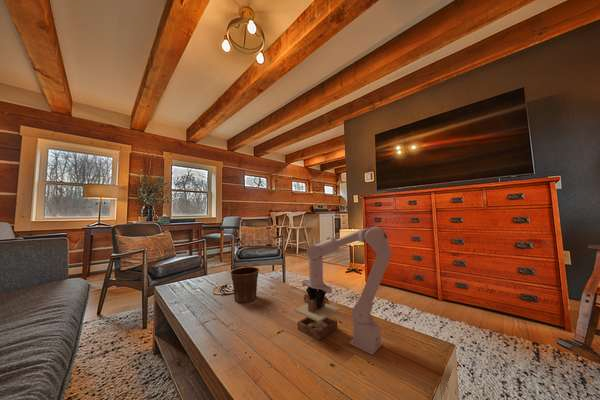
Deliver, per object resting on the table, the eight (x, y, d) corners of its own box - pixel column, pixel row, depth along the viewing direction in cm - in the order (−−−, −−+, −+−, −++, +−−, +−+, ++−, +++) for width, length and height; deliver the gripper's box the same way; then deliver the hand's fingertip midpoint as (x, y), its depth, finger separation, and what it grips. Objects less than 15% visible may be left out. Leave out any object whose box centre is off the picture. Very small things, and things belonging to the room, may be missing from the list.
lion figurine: (305, 314, 103) (305, 295, 103) (302, 309, 108) (301, 291, 108) (333, 309, 108) (332, 291, 108) (328, 305, 113) (327, 287, 113)
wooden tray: (337, 328, 90) (337, 321, 90) (319, 341, 82) (319, 333, 82) (315, 318, 99) (315, 312, 99) (297, 329, 90) (297, 322, 90)
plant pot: (224, 303, 117) (224, 273, 118) (240, 292, 133) (240, 266, 134) (250, 306, 113) (250, 275, 114) (264, 294, 128) (263, 267, 129)
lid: (339, 310, 88) (338, 298, 88) (318, 322, 79) (318, 309, 79) (315, 301, 97) (315, 290, 98) (294, 311, 88) (294, 299, 88)
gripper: (335, 274, 87) (336, 308, 86) (309, 268, 97) (310, 298, 96) (325, 278, 82) (326, 314, 81) (298, 271, 92) (299, 303, 91)
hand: (316, 306), depth 88 cm, fingers closed on lid, 2 cm apart
